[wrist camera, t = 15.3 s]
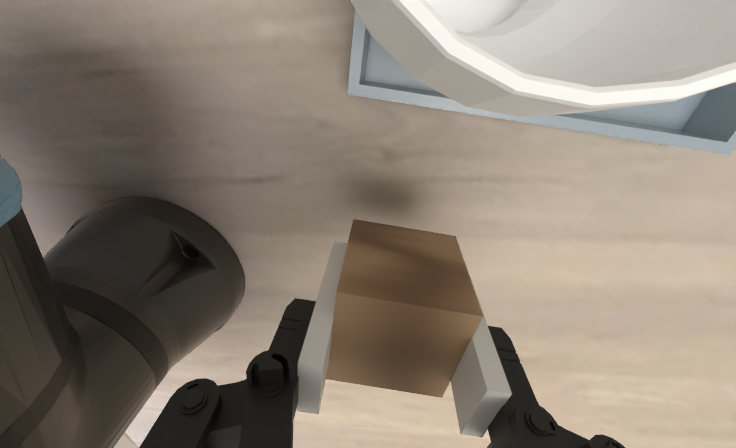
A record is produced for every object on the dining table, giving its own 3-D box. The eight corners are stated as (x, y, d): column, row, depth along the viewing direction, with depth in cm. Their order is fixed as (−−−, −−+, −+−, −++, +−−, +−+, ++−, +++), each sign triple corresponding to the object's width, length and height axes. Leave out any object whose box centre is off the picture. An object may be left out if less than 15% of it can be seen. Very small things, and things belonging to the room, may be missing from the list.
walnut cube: (342, 294, 17) (325, 378, 12) (353, 219, 14) (336, 292, 10) (429, 308, 17) (441, 397, 12) (455, 236, 14) (483, 316, 10)
